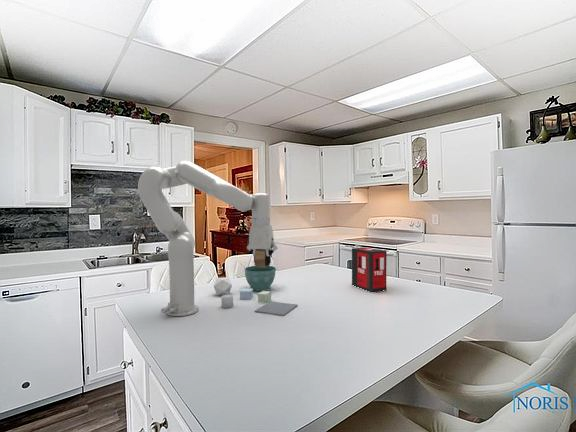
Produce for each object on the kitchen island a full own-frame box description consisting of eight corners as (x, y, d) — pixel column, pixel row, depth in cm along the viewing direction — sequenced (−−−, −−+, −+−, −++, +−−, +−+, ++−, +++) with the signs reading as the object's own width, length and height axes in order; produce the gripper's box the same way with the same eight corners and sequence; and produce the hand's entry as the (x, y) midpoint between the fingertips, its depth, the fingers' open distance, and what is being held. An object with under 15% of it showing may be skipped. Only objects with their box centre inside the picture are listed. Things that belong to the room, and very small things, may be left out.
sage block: (265, 303, 144) (265, 294, 143) (258, 302, 145) (257, 293, 145) (271, 300, 148) (271, 291, 148) (263, 299, 150) (263, 290, 150)
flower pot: (271, 294, 158) (271, 271, 158) (240, 292, 162) (240, 270, 161) (279, 286, 174) (279, 265, 174) (250, 284, 177) (250, 265, 177)
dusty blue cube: (250, 300, 149) (250, 291, 149) (240, 299, 149) (239, 291, 149) (253, 297, 154) (252, 288, 154) (242, 296, 154) (242, 288, 154)
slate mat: (283, 316, 126) (283, 314, 126) (254, 312, 131) (254, 310, 131) (297, 305, 139) (297, 304, 139) (270, 302, 144) (270, 301, 144)
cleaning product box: (386, 290, 163) (386, 251, 162) (372, 293, 159) (372, 252, 158) (365, 283, 178) (365, 247, 177) (351, 285, 174) (351, 248, 173)
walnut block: (264, 267, 136) (264, 250, 136) (255, 266, 138) (254, 250, 138) (269, 265, 140) (269, 249, 140) (260, 264, 142) (259, 249, 142)
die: (225, 299, 152) (236, 280, 156) (208, 290, 152) (220, 271, 156) (225, 300, 160) (235, 282, 164) (209, 292, 160) (220, 274, 164)
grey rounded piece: (229, 308, 136) (228, 298, 136) (219, 307, 138) (219, 297, 138) (235, 305, 140) (235, 295, 140) (226, 304, 143) (225, 294, 142)
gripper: (239, 222, 138) (240, 265, 139) (275, 222, 132) (276, 267, 132) (248, 221, 145) (249, 262, 146) (282, 221, 138) (284, 264, 139)
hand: (262, 264), depth 139 cm, fingers closed on walnut block, 4 cm apart
